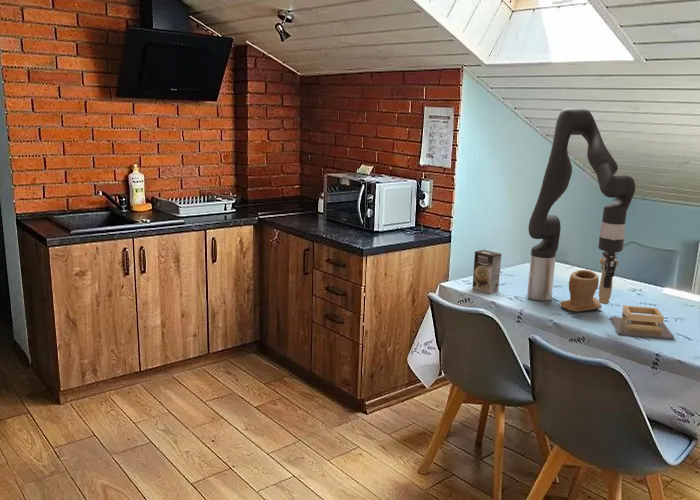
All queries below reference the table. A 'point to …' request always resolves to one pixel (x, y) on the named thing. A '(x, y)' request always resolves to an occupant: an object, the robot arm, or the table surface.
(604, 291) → the handle
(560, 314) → the table surface
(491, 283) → the coffee box
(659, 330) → the collar stand
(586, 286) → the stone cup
